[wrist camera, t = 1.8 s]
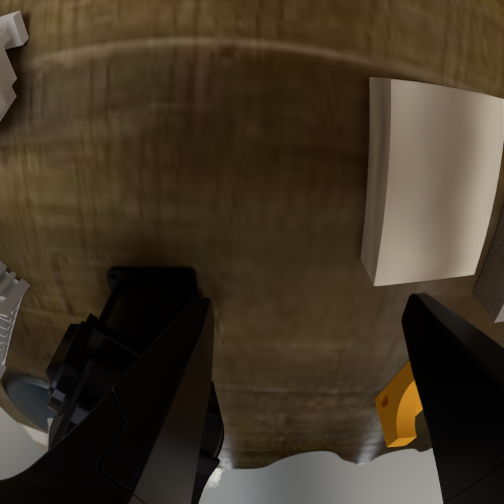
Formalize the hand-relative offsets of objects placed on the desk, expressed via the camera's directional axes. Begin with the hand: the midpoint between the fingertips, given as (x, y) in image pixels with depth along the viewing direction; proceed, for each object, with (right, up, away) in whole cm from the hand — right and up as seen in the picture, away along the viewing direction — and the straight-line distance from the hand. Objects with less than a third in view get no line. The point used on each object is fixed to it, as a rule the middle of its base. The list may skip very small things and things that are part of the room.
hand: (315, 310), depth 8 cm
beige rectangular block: (+9, +7, +11) cm, 16 cm away
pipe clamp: (+16, -10, +21) cm, 28 cm away
